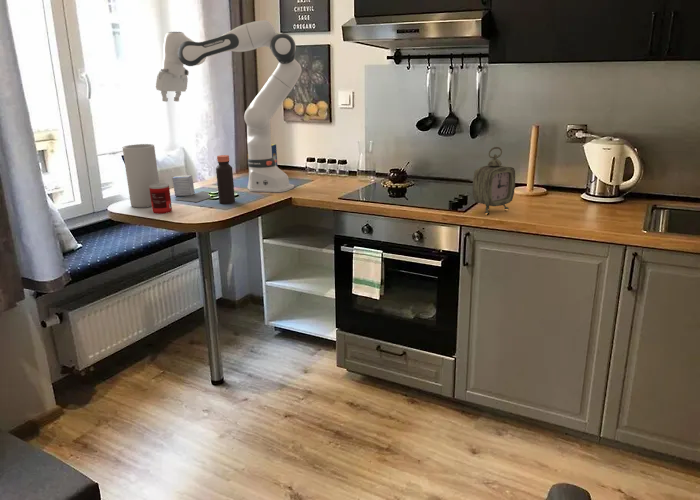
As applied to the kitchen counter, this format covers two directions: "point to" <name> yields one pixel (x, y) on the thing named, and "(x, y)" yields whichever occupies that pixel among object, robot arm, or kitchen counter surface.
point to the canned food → (160, 198)
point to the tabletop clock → (494, 183)
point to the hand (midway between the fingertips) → (170, 101)
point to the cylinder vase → (140, 173)
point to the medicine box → (183, 185)
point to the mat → (196, 197)
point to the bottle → (225, 180)
